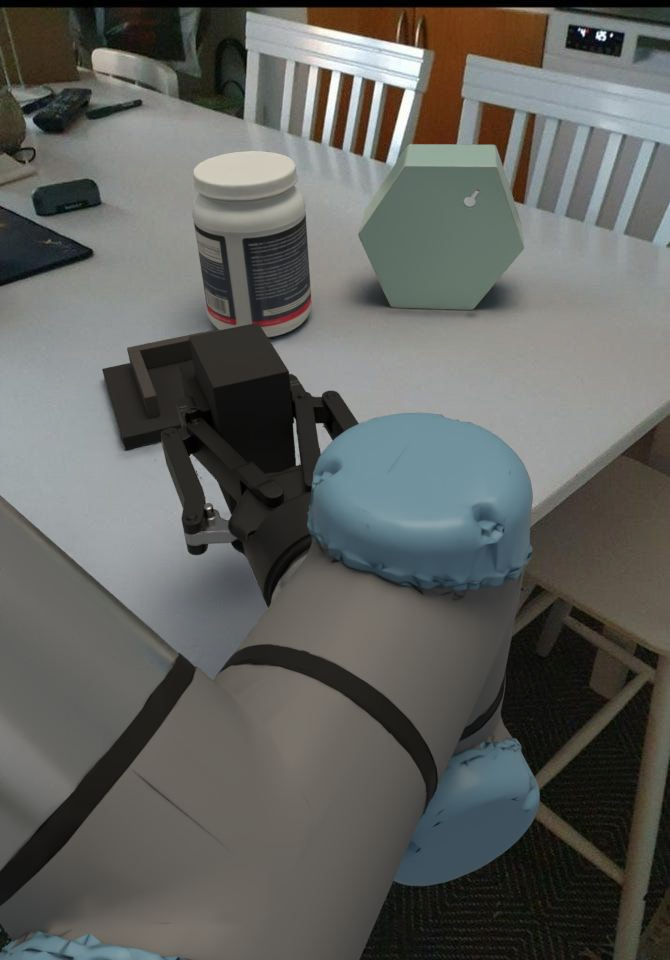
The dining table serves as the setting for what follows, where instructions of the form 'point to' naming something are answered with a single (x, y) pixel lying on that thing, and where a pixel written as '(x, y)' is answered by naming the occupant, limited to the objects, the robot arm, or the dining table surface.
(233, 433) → the tall dark brick
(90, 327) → the dining table surface
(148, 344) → the base pad
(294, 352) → the dining table surface
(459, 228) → the green hexagonal block
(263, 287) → the supplement tub
